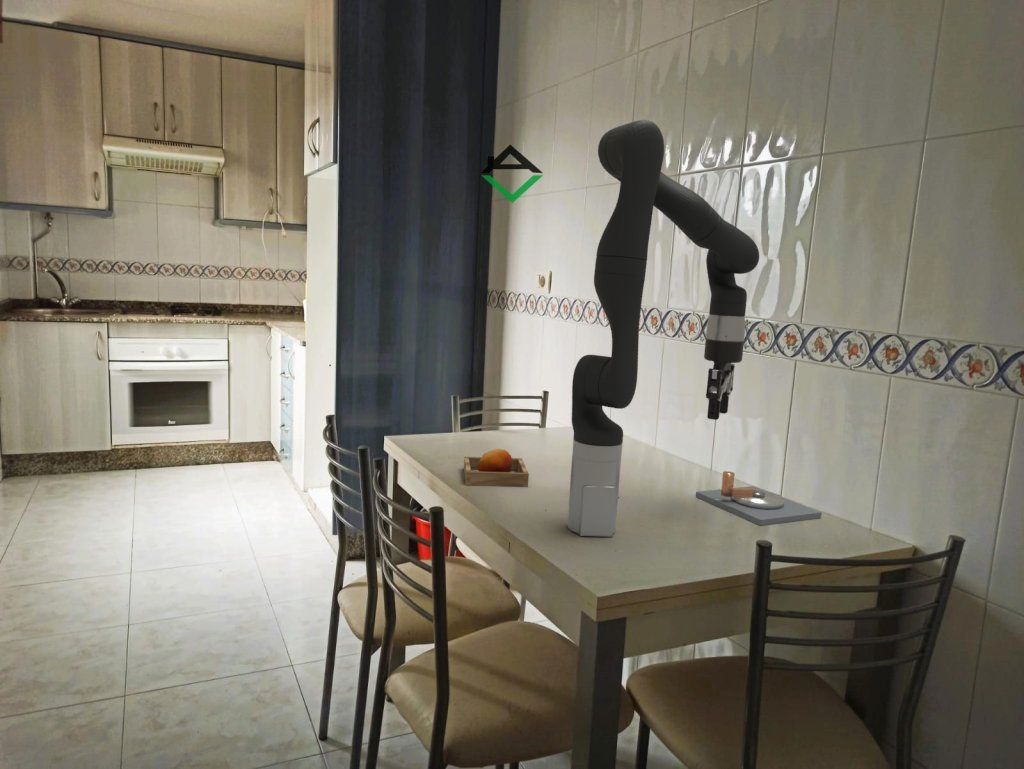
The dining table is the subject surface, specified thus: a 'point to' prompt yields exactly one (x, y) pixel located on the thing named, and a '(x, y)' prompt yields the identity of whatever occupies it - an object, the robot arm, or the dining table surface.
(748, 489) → the silver and copper crank
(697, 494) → the plate
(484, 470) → the fruit
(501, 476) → the wooden tray
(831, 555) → the dining table surface
